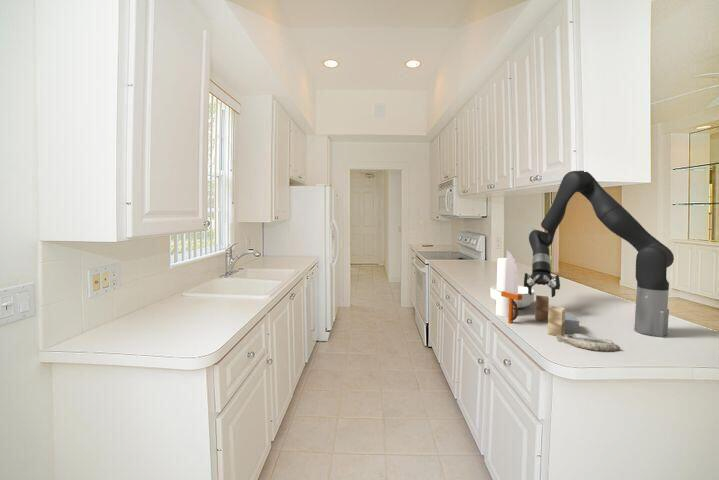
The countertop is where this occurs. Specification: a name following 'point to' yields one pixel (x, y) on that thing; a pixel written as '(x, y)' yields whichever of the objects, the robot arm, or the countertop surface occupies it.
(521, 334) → the countertop surface
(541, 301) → the walnut block
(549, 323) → the oak block
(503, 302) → the cylindrical container
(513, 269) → the knife
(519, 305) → the bowl
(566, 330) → the base block
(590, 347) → the fossil
